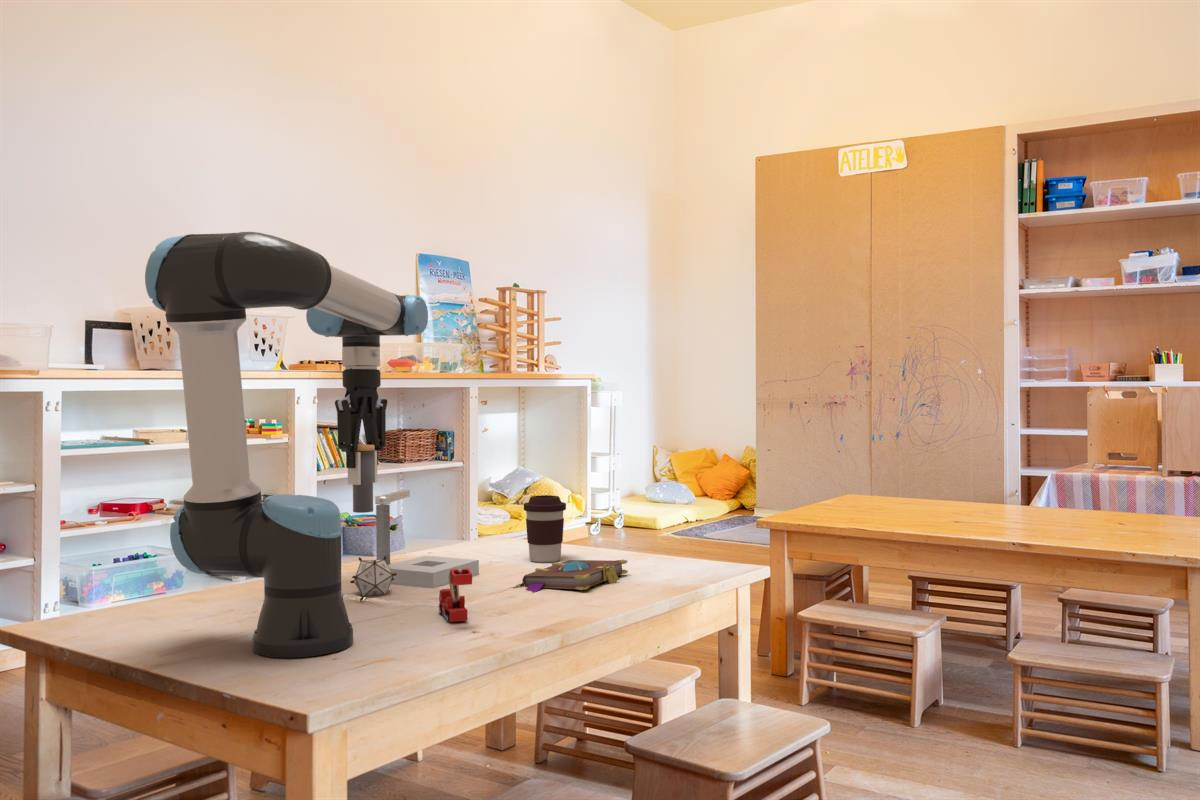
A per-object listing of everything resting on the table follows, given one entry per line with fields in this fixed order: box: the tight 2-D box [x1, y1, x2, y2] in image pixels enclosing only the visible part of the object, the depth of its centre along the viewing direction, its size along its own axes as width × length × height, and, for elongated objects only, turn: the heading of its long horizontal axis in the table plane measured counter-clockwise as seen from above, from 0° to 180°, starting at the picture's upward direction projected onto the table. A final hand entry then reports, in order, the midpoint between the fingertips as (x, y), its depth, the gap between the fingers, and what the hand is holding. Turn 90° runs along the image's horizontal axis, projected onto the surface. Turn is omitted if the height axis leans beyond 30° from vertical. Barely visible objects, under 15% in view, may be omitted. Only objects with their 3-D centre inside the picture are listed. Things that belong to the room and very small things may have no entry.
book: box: [521, 559, 629, 593], centre depth 205 cm, size 16×25×5 cm, turn 154°
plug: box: [352, 443, 375, 514], centre depth 201 cm, size 5×5×14 cm
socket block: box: [388, 555, 480, 589], centre depth 206 cm, size 16×14×4 cm
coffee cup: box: [523, 494, 567, 563], centre depth 233 cm, size 10×10×15 cm
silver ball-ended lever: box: [374, 489, 411, 505], centre depth 218 cm, size 3×16×2 cm, turn 170°
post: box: [375, 504, 391, 565], centre depth 212 cm, size 5×5×16 cm
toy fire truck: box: [438, 568, 473, 623], centre depth 173 cm, size 3×14×10 cm, turn 21°
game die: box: [350, 556, 397, 602], centre depth 191 cm, size 9×8×10 cm
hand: (362, 483), depth 201 cm, fingers closed on plug, 4 cm apart
